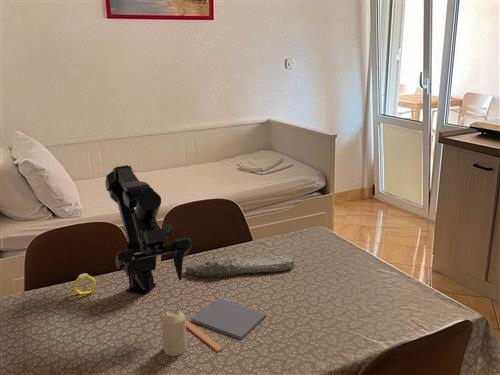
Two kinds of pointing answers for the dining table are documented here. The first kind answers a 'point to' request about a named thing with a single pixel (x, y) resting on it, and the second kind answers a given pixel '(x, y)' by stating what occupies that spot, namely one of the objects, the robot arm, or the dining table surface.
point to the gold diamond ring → (82, 277)
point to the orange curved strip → (203, 336)
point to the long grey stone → (238, 265)
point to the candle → (174, 333)
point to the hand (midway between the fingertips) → (162, 284)
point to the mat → (229, 318)
